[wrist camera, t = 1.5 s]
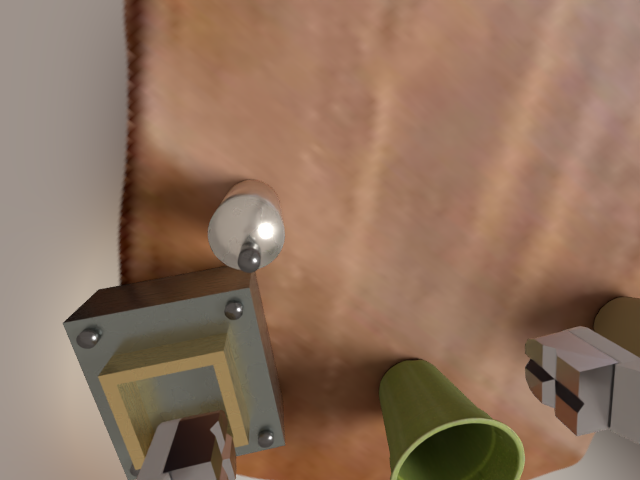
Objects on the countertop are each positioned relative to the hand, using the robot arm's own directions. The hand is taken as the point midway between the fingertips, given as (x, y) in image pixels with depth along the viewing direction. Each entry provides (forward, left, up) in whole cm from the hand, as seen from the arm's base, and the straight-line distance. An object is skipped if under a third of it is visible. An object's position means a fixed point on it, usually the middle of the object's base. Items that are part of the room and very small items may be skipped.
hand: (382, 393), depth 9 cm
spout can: (-1, -4, -25) cm, 25 cm away
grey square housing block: (+12, -12, -25) cm, 30 cm away
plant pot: (+22, +9, -25) cm, 35 cm away
